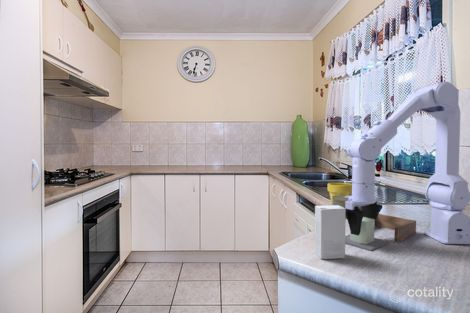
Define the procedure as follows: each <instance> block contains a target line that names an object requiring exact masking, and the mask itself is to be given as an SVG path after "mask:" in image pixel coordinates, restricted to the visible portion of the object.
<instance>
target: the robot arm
mask: <svg viewBox="0 0 470 313" xmlns="http://www.w3.org/2000/svg"><path fill="white" fill-rule="evenodd" d="M459 93H460V91H459V89H458V88H457V87H456V86H455V85H454V84H452V83H451V82H450V81H441V82H439V83H435V84H433V85H428V86H425V87H418V88H416V89H415V90H414V91H413V92H411V93H410V94H408V95H407V98H406V99H405V100H404V101H403V102H402V104H400V106H399V107H397V109H396V110H395V111H394V112H393V113H392V114H391V115H390V116H388V118H387V119H379V120H376V121H374V122H373V126H372V127H371V128H370V129H369V130H368V131H367V132H365V133H364V132H363V134H361V138H360V139H356V140H354V141H353V142H352V143H351V145H350V147H349V148H348V149H347V150H348V152H347V153H348V156H349V157H350V158H351V164H352V166H351V167H352V168H351V170H352V171H351V172H352V173H351V174H352V175H351V184H352V192H351V196H352V197H348V199H349V200H348V201H345V207H343V208H345V209H346V211H345V215H346V218H347V219H346V220H347V223H348V226H349V231H350V232H351V234H354V235H359V234H360V231H361V223H362V219H363V216H364V217H366V218H371V219H375V223H376V219H377V216H378V214H380V212H381V210H382V209H383V204H380V196H378V195H376V194H375V192H376V191H375V189H376V183H375V182H376V159H379V157H380V155H381V153H382V152H381V151H382V149H383V148H384V147H385V146H386V145H387V144H388V143H389V142H390V141H391V140H392V139H393V138H394V137H395V136H396V135H398V128H399V127H400V126H401V125H402V124H403V123H404V122H406V121H407V120H408V119H409V118H410V117H412V116H413V115H415V114H416V112H418V111H421V112H424V113H426V114H428V115H430V116H431V117H433V118H434V119H435V122H436V126H435V160H434V162H435V164H434V165H435V166H434V174H432V175H431V176H430V177H429V178H428V179H427V182H428V183H427V185H426V187H425V191H424V196H425V198H426V200H427V201H428V202H429V206H431V208H430V231H424V232H423V234H424V235H426V236H428V237H430V238H432V239H434V240H436V241H437V242H440V243H441V244H444V245H445V244H446V245H447V244H448V245H449V244H450V245H470V217H469V216H468V214H466V213H465V212H464V211H465V209H466V207H468V206H469V204H470V190H469V182H468V181H467V180H466V179H465V178H463V177H462V175H460V174H459V173H460V144H461V143H460V141H461V140H460V138H461V137H460V136H461V108H460V106H459ZM358 207H361V208H362V210H360V209H358ZM350 232H349V233H350Z"/></svg>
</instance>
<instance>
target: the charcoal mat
mask: <svg viewBox="0 0 470 313" xmlns="http://www.w3.org/2000/svg"><path fill="white" fill-rule="evenodd" d="M389 243H390V241H388V240H385V239H380V238H378V237H377V238H376V237H374V241H373V242H370V243H368V244H363V243H360V242H356V241H352V240H350V234H347V235H345V245H349V246H351V247H356V248H359V249H362V250H367V251H369V252H372V251H375V250H376V249H379V248H381V247H383V246H385V245H387V244H389Z"/></svg>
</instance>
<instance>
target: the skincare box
mask: <svg viewBox="0 0 470 313" xmlns="http://www.w3.org/2000/svg"><path fill="white" fill-rule="evenodd" d="M345 211H346V209H345V208H343V207H341V206H338V205H332V204H331V205H330V204H329V205H314V215H315V216H314V244H315V245H314V253H315V255H316V256H317V257H318V258H320V260H334V259H335V260H336V259H337V260H338V259H345V258H346V244H345V236H346V219H345Z"/></svg>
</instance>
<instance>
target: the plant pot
mask: <svg viewBox="0 0 470 313" xmlns="http://www.w3.org/2000/svg"><path fill="white" fill-rule="evenodd" d="M327 192H328V194H329V198H330V204H331V205H332V197H333V196H337V195H349V196H351V195H352V183H349V182H328V183H327Z"/></svg>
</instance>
